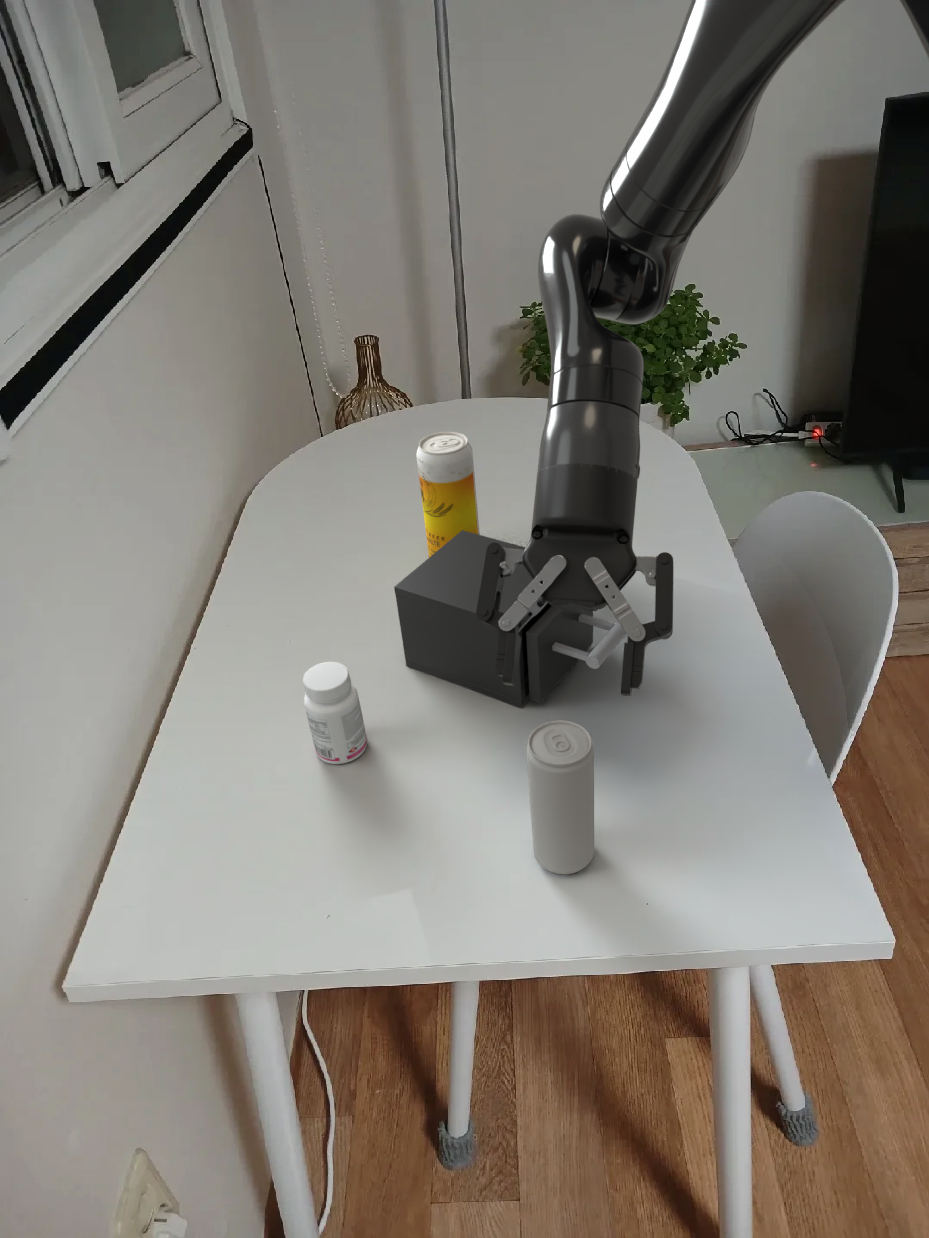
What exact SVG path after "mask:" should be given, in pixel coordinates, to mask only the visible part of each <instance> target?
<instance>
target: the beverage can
mask: <svg viewBox="0 0 929 1238" xmlns="http://www.w3.org/2000/svg"><path fill="white" fill-rule="evenodd" d="M526 764H527V765H526V766H527V781H528V798H529V811H530V823H531V832H532V833H531V835H532V836H531V837H532V850H533V857H534V859H535V860H536V862H537V864H538V865H540V866H541V867H542V868H543V869H544V870H547V871H549V872H551V873H553V874H558V875H570V874H575V873H577V872H580V871H582V870H583V869H585V868H586V867H587V866H589V864H590V863H591V862H592V860H593V858H594V855H595V747H594V744H593V739H592V736H591V734H590V732H588V730H587V729H586V728H585V727H583V726H582V725H580V724H578V723H576V722H574V721H569V720H558V719H557V720H551V721H547V722H544V723H542V724H540V725H538V726H537V727H536V728H534V729H533V730H532V731H531V733H530V734H529V736H528V739H527V744H526Z"/></svg>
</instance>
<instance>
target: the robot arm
mask: <svg viewBox="0 0 929 1238" xmlns="http://www.w3.org/2000/svg"><path fill="white" fill-rule="evenodd" d="M846 1H847V0H691V1H690V4H689V6H688V9H687V12H686V14H685V18H684V20H683V23H682V26H681V28H680V31H679V34H678V37H677V38H676V42H675V44H674V46H673V49H672V51H671V55H670V56H669V59H668V62H667V64H666V65H665V66H666V67H665V69H664V71H663V73H662V75H661V78H660V80H659V82H658V84H657V86H656V89H655V90H654V92H653V95H652V97H651V98H650V100H649V102H648V104H647V106H646V108H645V109H644V111H643V113H642V115H641V117H640V119H639V120H638V122H637V124H636V125H635V127H634V129H633V131H632V132H631V134H630V136H629V138H628V140H627V142H626V143H625V144H624V147H623V149H622V151H621V152H620V153H619V156H618V157H617V159H616V161H615V163H614V165H613V166H612V167H611V169H610V172H609V173H608V176H607V177H606V180H605V181H604V184H603V186H602V188H601V191H600V196H599V197H600V198H599V211H600V216H601V218H599V217H597V216H591V215H587V214H580V213H573V214H568V215H566V216H563V217H562V218H560V219H558V221H556V222H555V223H554V224H552V226H551V228H549V230H548V232H547V233H546V235H545V237H544V239H543V241H542V243H541V245H540V246H541V247H540V250H539V253H538V261H537V279H538V284H539V285H538V286H539V296H540V301H541V305H542V309H543V314H544V320H545V324H546V331H547V339H548V345H549V354H550V355H549V356H550V376H549V377H550V378H549V385H548V397H547V407H546V415H545V422H544V426H543V429H542V434H541V438H540V443H539V453H538V460H537V461H538V462H537V470H536V471H537V472H536V481H535V482H536V483H535V490H534V491H535V493H534V502H533V511H532V522H531V531H530V538H529V541H528V543H527V544H526V546H525V547H526V548H525V549H524V550H521V549H513V548H504V547H502V546H501V545H500V544H499V543H496V542H493V543H491V544H489V545H488V547H487V550H486V556H485V562H484V568H483V574H482V579H481V585H480V591H479V597H478V603H477V609H476V616H477V617H478V619H480V620H481V621H482V622H484V623H485V624H486V625H489V626H491V627H494V628H496V629H497V631H498V633H499V638H498V647H497V657H496V667H495V668H496V672H497V675H499V676H501V677H503V684H505V685H512V686H516V684H517V677H518V667H519V657H520V647H521V637H520V636H519V635H518V634H519V632H520V631H521V629H522V628H523V627H524V626H525V625H526V624H527V623H528V622H529V621H530V620H531V619H532V618H533V617H534V616H536V615H537V614H538V613H539V612H540V611H541V610H542V609H543V608H544V606H545V605H546V604H547V603H548V604H550V605H552V606H554V607H555V608H556V609H570V608H575V607H578V608H581V609H583V610H586V611H593V612H598V611H599V610H601V609H603V608H606V607H608V608H609V610H610V611H611V614H613V616H614V618H615V619H616V621H618V622H619V623H620V625H621V626H622V628H623V629H624V631H625V632H626V636H627V642H624V643H623V656H622V668H621V679H620V689H619V690H620V691H619V692H620V693H619V694H620V696H621V697H626V698H632V695H633V690H640V688H641V686H642V685H643V680H644V669H645V668H644V667H645V655H646V648H647V647H648V645H649V644H651V643H652V642H657V641H660V640H668V639H670V638H671V637H672V635H673V633H674V632H673V631H674V580H675V579H674V578H675V577H674V575H675V574H674V573H675V572H674V571H675V569H674V568H675V564H674V557H673V555H672V554H671V553H670V552H667V551H664V552H663V551H662V552H660V553H658V554H657V555H640V556H639V555H636V554H635V552H634V550H633V542H634V541H633V540H634V528H635V515H636V506H637V504H636V503H637V492H638V481H639V478H640V474H641V466H640V459H641V457H640V456H641V435H640V417H641V407H642V393H643V383H644V372H645V367H644V366H645V365H644V364H645V363H644V362H645V361H644V357H643V353H642V351H641V350H640V348H639V347H638V346H637V345H636V344H635V343H634V342H632V341H631V340H629V339H627V338H626V337H624V336H622V335H620V334H618V333H617V332H615V331H613V330H611V329H610V328H607V327H606V326H604V324H602V323H601V322H600V321H599V320H598V319H602V320H607V321H612V322H615V323H620V324H625V325H640V324H644V323H647V322H649V321H651V320H653V319H654V318H656V317H657V316H658V315H659V314H661V313H662V311H664V309H665V308H666V307H667V304H668V302H669V300H670V298H671V295H672V292H673V290H674V285H675V281H676V277H677V274H678V269H679V266H680V264H681V260H682V258H683V255H684V253H685V249H686V247H687V245H688V243H689V240H690V238H691V236H692V234H693V232H694V230H695V229H696V227H697V226H698V225H699V223H700V222H701V221H702V219H704V217H705V216H706V214H707V213H708V212H709V210H710V209H711V207H712V206H713V205H714V204H715V202H716V201H717V199H718V198H719V197H720V195H721V194H722V192H723V191H724V189H725V188H726V187H727V185H728V184H729V183H730V181H731V180H732V178H733V177H734V175H735V173H736V172H737V170H738V168H739V166H740V164H741V163H742V161H743V158H744V155H745V153H746V151H747V148H748V146H749V142H750V139H751V136H752V132H753V127H754V123H755V118H756V113H757V109H758V106H759V104H760V102H761V100H762V97H763V95H764V93H765V92H766V90H767V88H768V87H769V85H770V83H771V82H772V80H773V79H774V78H775V76H776V74H778V72H779V70H780V69H781V68H782V66H784V65H785V63H786V61H788V59H789V58H791V56H792V55H793V54H794V53H795V51H796V50H797V49H798V48H799V47H800V46H801V45H802V44H803V43H804V42H805V41H806V39H808V37H810V36H811V34H812V33H814V31H815V30H816V29H817V28H819V26H820V25H821V24H822V23H823V22H825V20H827V19H828V18H829V17H830V16H831V15H832V14H833V13H834V12H835V11H836V10H837V9H838V8H839V7H840V6H841V5H842V4H843V3H845V2H846ZM899 2H900V4H901V6H902V8H903V9H904V11H905V14H906V16H907V18H908V20H909V22H910V23H911V27H912V28H913V30H914V32H915V35H916V36H917V39H918V40H919V42H920V44H921V46H922V49H923V51H924V53H925V56H926V59H927V60H928V62H929V0H899ZM520 564H523V565H524V567H525V569H526V570H527V572H528V574H529V575H530V577H531V579H532V582H531V583H530V584H529V585H528V586H527V587H526V588H525V589H524V590H523V591H522V593H521V594H520V595H519V596H518V598H517V600H516V601H515V603H514V604H513V605H512V606H511V607H510V608H509V609H508V610H507V611H506V613H505V614H504V613H502V612H500V611H499V609H500V603H501V597H502V591H503V585H504V579H505V577H509V576H511V575H512V574H513V573H514V570H515V568H516V567H517V566H518V565H520ZM637 572H640V573H642V574H643V575H644V579H645V582H646V584H647V585H648V586H650V587H655V591H654V592H655V593H654V597H655V598H654V606H655V607H654V620H653V621H649V622H646V623H643V624H642V623H641V621H640V620H639V618H638V616H637V615H636V614H635V612H634V611H633V609H632V607H631V605H630V604H629V602H628V601H627V599H626V598H625V596H624V595H623V593H622V592H621V590H623V588H624V587H625V586H626V585H627V583H629V582H630V581H631V579H632V578H633V577H635V574H636V573H637ZM533 591H535V592H534V593H533ZM540 598H541V600H539V599H540Z"/></svg>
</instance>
